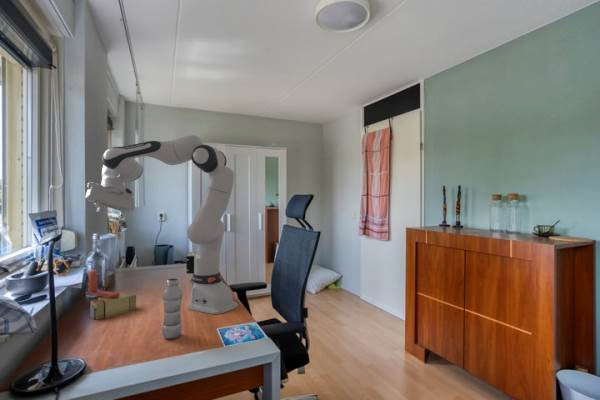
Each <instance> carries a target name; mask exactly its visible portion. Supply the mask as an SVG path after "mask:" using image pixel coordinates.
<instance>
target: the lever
mask: <svg viewBox="0 0 600 400" xmlns="http://www.w3.org/2000/svg"><path fill="white" fill-rule="evenodd" d="M120 293H121V292H120V291H105V290H104V291H103V290H98V269H92V270H89V271H88V293H87V294H88V295H89V296H100V297H103V296H108V297H117V296H119V295H120Z"/></svg>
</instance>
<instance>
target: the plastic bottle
mask: <svg viewBox="0 0 600 400" xmlns="http://www.w3.org/2000/svg"><path fill="white" fill-rule="evenodd" d="M182 300H183V292H182V290H181V288H180V287H179V279H178V278H175V277H173V278H169V279H167V280H166V288H165V290H164V292H163V294H162V302H163V313H164V314H163V323H162V327H161V328H162V329H161V333H162V334H161V335H162V337H163V338H164V339H168V340H171V339H176V338H178V337H180V335H181V334H182V332H183V325H182V318H181V309H182Z"/></svg>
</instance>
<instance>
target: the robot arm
mask: <svg viewBox="0 0 600 400" xmlns="http://www.w3.org/2000/svg"><path fill="white" fill-rule="evenodd" d="M101 157H102V164H103V165H102V169H101V181H100V184H99V183H96V182H93V181H91V182H88V183H87V191H86V194H85V200H86V201H87V202H89V203H93V205H94V207H95V208H96V212H97V213H102V212H103V210H104V208H103V207H106V208H109V209H113V210H115V211H119V212H120V213H119V214H118V217H117V218H118V219H120V220H121V219H124V218H125V214H131V213H132V212H133V211H135V198H134V197H133V196H134V191H132V190H131V189H129V188H128V187H126V186H125V184H124V183H131V182H134V181H137V180H139V179H140V178H141V176H142V174H143V171H144V167H143V165H142V164H141V163H140V162H138V161H137V160H136V159H137V158H140V157H141V158H142V157H149V158H153V159H155V160H158V161H159V162H160V161H161V162H162V163H163V164H166V165H169V166H177V165H181V164H184V163H186V162H188V161H189V162H190V161H192V163H193V164H194V165H195V167H197V168H198V169H200V170H201V171H203V172H204V173H207V174H208V175H209V178H208V183H207V186H206V189H205V191H204V196H203V199H202V202H201V205H200V207H199V208H198V211H197V213H196V215H195V217H194V219H193V221H192V222H191V223H190V224H189V226H188V228H187V231H186V236H187V238H188V240H189V241H190V242H191V243H193V244H195V245H197V249H196V250H195V252H196V254H195V256H194V273H193V282H194V283H192V284H193V285H192V288H191V290H190V291H191V292H190V301H189V305H188V307H187V309H188V310H192V311H197V312H201V313H206V314H210V315H211V314H212V315H219V314H220V315H221V314H224V313H227V312H230V311H232V310H234V309H236V308H238V306H239V303H238V302H236V301H234V300H233V293H232V291H231V290H230V288H228V287H227V286H226V284H225V283H224V282H223V279H224V275H222V274H221V271H220V255H221V254H220V253H221V249H222V244H223V237H224V233H225V229H226V227H225V224H224V222H223V221H222V217H223V215H224V214H225V213H226V211H227V208H228V205H229V202H230V199H231V196H232V195H231V194H232V192H233V187H234V181H235V172H234V171H233V170H232V168H230V167H228V166H227V161H228V160H227V157H226V155H225V154H224V153H223V152H222V151H221V150H219V149H218V148H216V147H215V146H211V145H209V144H204V142H203V141H202V139H201V138H200V137H199V136H197V135H194V134H193V135H187V136H185V135H184V136H182V137H178V138H175V139H172V140H165V141H157V140H149V141H143V142H138V143H133V144H129V145H125V146H113V147H109V148H107V149H106V150H105V151H104V152H103V153H102V156H101ZM102 206H103V207H102Z"/></svg>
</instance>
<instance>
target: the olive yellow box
mask: <svg viewBox="0 0 600 400" xmlns="http://www.w3.org/2000/svg"><path fill="white" fill-rule="evenodd" d="M136 309H137V295H136V294H135V293H132V292H130V291H128V292H120V295H119V296H117V297H108V296H99V297H97V299H91V300H90V305H89V317H90V318H91V319H93V320H101V319H104V318H105V319H106V318H110V317H114V316H118V315H121V314H126V313H129V312H131V311H135V310H136Z"/></svg>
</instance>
